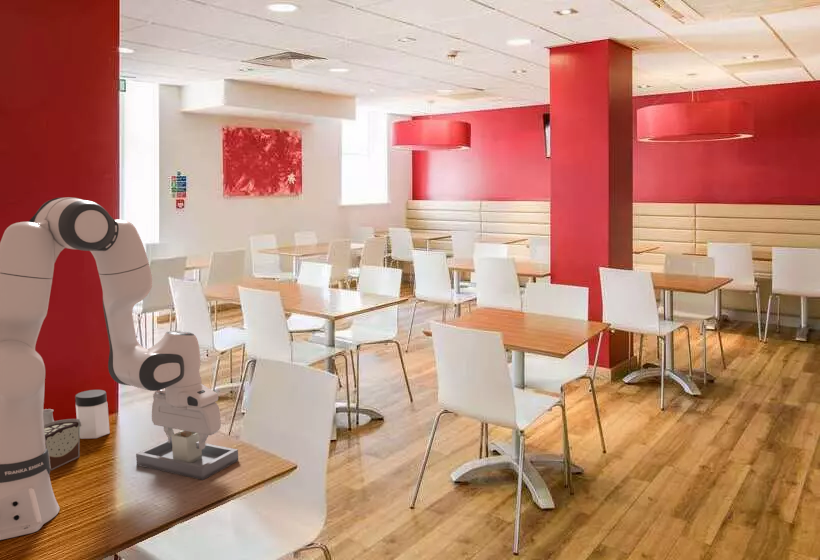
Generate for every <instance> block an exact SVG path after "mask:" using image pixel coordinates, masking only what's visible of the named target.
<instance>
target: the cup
mask: <svg viewBox="0 0 820 560" xmlns="http://www.w3.org/2000/svg"><path fill="white" fill-rule="evenodd" d="M200 438H201V437H199V434H198V433H194V432H189V431H184V430H179V431H178V432H176V433H174V435H172V451H173V459H174V460H179V461H183V462H188V463H193V462H195V461H197V460H199V459H201V458H202V450H200V449H197V448H196V442H199V440H200Z"/></svg>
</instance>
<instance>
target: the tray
mask: <svg viewBox="0 0 820 560" xmlns="http://www.w3.org/2000/svg"><path fill="white" fill-rule="evenodd" d="M135 457H136V466H141V467H144V468H149V469H153V470H158V471H162V472H166V473H171V474H176V475H179V476H184V477H188V478H193V479H196V480H201V481H204V480H206V479H208V478H209V477H211V476H213V475H215V474H217V473H219V472H220V471H222V470H224V469H226V468H228V467H229V466H231V465H233V464H235V463H237V462H238V461H239V449H238V448H232V447H227V446H222V445H215V444H211V443H206V442H205V448H204V449H202V458H201V459H199V460H197V461H195V462H193V463H188V462H183V461H179V460H174V459H173V451H172V444H171V443H168V439H166V440H164V441H161V442H159V443H157V444H155V445H153V446H150V447H148V448H146V449H143V450H142V451H140V452H136V454H135Z"/></svg>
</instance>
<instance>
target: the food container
mask: <svg viewBox="0 0 820 560" xmlns="http://www.w3.org/2000/svg"><path fill="white" fill-rule="evenodd" d="M80 426H81V422H80V421H79V419H77V418H66V419H59V420H54V422H50V423H47V424H45V425H44V433H45V445H46V449H48V452H49V457H50V472H51V471H53V470H55V469H57V468H59V467H61V466H64V465H65V464H68V463H69V462H72V461H74V460H76V459H78V458H80V437H79V435H80Z"/></svg>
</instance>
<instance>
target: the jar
mask: <svg viewBox="0 0 820 560" xmlns="http://www.w3.org/2000/svg"><path fill="white" fill-rule="evenodd" d="M74 400H75V413H76V415H75V416H76V419H79V421H80V422H81V426H80V435H79V440H80V439H81V440H83V439H87V440H88V439H90V440H91V439H98V438H101V437H103V436H106V435H109V434H110V421H109V407H108V405H109V404H108V401H107V392H106V390H103V389H89V390H84V391H81V392H78V393H76V394H75V395H74Z"/></svg>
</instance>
